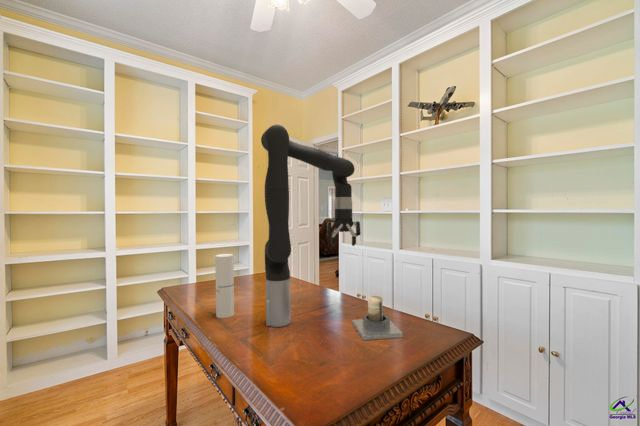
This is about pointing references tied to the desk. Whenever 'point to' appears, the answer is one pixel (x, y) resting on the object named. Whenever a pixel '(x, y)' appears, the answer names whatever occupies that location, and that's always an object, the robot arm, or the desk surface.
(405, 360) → the desk surface
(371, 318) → the cream rounded cylinder
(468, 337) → the desk surface
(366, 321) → the socket plate
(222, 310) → the cylindrical container
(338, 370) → the desk surface
